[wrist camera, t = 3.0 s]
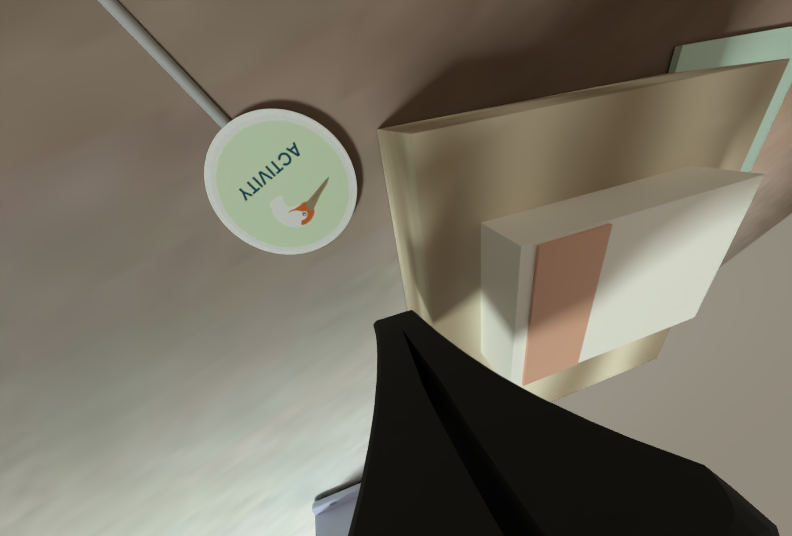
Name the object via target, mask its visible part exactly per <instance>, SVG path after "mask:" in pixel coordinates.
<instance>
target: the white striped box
mask: <svg viewBox="0 0 792 536" xmlns="http://www.w3.org/2000/svg"><path fill="white" fill-rule="evenodd" d="M764 175H765V174H758V173H750V172H741V171H733V170H725V169H716V168H708V167H700V166H689V167H685V168H681V169H678V170H674V171H670V172H666V173H663V174H659V175H655V176H652V177H648V178H644V179H641V180H637V181H633V182H630V183H626V184H622V185H618V186H615V187H611V188H607V189H604V190H600V191H596V192H593V193H589V194H585V195H582V196H578V197H574V198H571V199H567V200H563V201H559V202H556V203H552V204H548V205H545V206H541V207H537V208H534V209H530V210H526V211H523V212H519V213H515V214H511V215H508V216H504V217H500V218H497V219H493V220H489V221H486V222H482V223H481V353H482V354H483V356H484V357H485V358H486V360H487V361H488V362H489V363H490V365H491V366H492V367H493V369H494V370H495V371H496V373H497V374H499V375H501V376H502V377H504V378H506V379H508V380H509V381H511V382H513V383H515V384H516V385H518V386H522V385H523V386H525V385H527V384H530V383H532V382H535V381H537V380H540V379H542V378H545V377H547V376H550V375H552V374H555V373H557V372H560V371H563V370H565V369H568V368H570V367H573V366H575V365H578V363H580V362H582V361H585V360H588V359H590V358H593V357H595V356H598V355H600V354H603V353H605V352H608V351H610V350H613V349H615V348H618V347H621V346H623V345H626V344H628V343H631V342H633V341H636V340H638V339H641V338H643V337H646V336H648V335H651V334H654V333H656V332H659V331H661V330H664V329H666V328H669V327H671V326H674V325H676V324H679V323H681V322H684V321H686V320H689V319H692V318H694V317H695V315H696V313H697V311H698V309H699V307H700V305H701V303H702V301H703V299H704V297H705V295H706V293H707V291H708V289H709V287H710V285H711V283H712V281H713V278H714V277H715V275H716V273H717V271H718V269H719V267H720V265H721V263H722V261H723V259H724V256H725V254H726V252H727V250H728V248H729V246H730V244H731V242H732V240H733V238H734V236H735V234H736V232H737V230H738V228H739V226H740V224H741V222H742V220H743V218H744V216H745V214H746V212H747V210H748V208H749V206H750V204H751V202H752V200H753V197H754V195H755V193H756V191H757V189H758V187H759V185H760V183H761V181H762V179H763V177H764Z"/></svg>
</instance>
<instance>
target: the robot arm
mask: <svg viewBox="0 0 792 536" xmlns="http://www.w3.org/2000/svg"><path fill="white" fill-rule="evenodd" d="M374 329H375V333H376V339H377V383H376V394H375V405H374V413H373V421H372V427H371V433H370V440H369V445H368V451H367V456H366V461H365V466H364V471H363V476H362V480H361V483H359V484H357V485H354V486H352V487H349V488H347V489H345V490H342V491H340V492H337V493H335V494H333V495H330V496H328V497H325V498H323V499H320V500H318V501H316V502H315V503H314V504H313V505H312V511H313V513H314V515H315V525H316V536H779V533H778V529H777V527H776V525H775V524H773V523H772V522H771V521H770V520H769V519H768V518H767V517H765V516H764V515H763V514H762V513H761V512H760V511H759V510H757V509H756V508H755V507H754V506H753V505H752V504H750V503H749V502H748V501H747V500H746V499H745V498H744V497H742V496H741V495H740V494H739V493H738V492H737V491H736V490H734V489H733V488H732V487H731V486H730V485H728V484H727V483H726V482H725V481H723V480H722V479H721V478H719V477H718V476H717V475H716V474H715V473H713V472H712V471H711V470H710V469H708V468H707V467H706V466H705V465H702V464H699V463H697V462H694V461H692V460H689V459H686V458H683V457H681V456H678V455H675V454H672V453H670V452H667V451H664V450H662V449H659V448H656V447H654V446H651V445H648V444H645V443H643V442H640V441H637V440H635V439H632V438H629V437H627V436H624V435H622V434H619V433H617V432H615V431H613V430H610V429H608V428H605V427H603V426H601V425H598V424H596V423H594V422H591V421H589V420H587V419H584V418H583V417H581V416H578V415H576V414H574V413H572V412H570V411H568V410H566V409H563V408H561V407H559V406H557V405H555V404H553V403H551V402H549V401H546V400H544V399H542V398H540V397H539V396H537V395H535V394H533V393H531V392H529V391H527V390H525V389H524V388H522V387H520V386H518V385H516V384H515V383H513V382H511V381H509V380H508V379H506V378H504V377H502V376H501V375H499V374H497V373H496V372H494V371H492V370H491V369H489V368H488V367H486V366H485V365H483V364H482V363H480V362H479V361H477V360H476V359H474V358H473V357H471V356H470V355H468V354H467V353H465V352H464V351H462V350H461V349H460V348H458V347H457V346H456V345H454V344H453V343H452V342H450V341H449V340H448V339H446V338H445V337H444V336H443V335H441V334H440V333H439V332H438V331H436V330H435V329H434V328H433V327H431V326H430V325H429V324H428V323H427V322H426V321H425V320H423V319H422V318H421V317H420V316H419V315H418V314H417V313H416V312H415V311H413V310H409V311H406V312H403V313H400V314H397V315H393V316H390V317H387V318H384V319H381V320H378V321H376V322H375V323H374Z"/></svg>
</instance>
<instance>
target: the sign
mask: <svg viewBox="0 0 792 536" xmlns="http://www.w3.org/2000/svg"><path fill="white" fill-rule="evenodd" d="M98 1H99V2H100V3H101V4H102V5H103V6H104V7H105V8H106V9H107V10H108V11H109V12H110V13H111V14H112V15H113V16H114V17H115V19H116V20H117V21H118V22H119V23H120V24H121V25H122V26H123V27H124V28H125V29H126V30H127V31H128V32H129V33H130V34H131V35H132V36H133V37H134V38H135V39H136V40H137V41H138V42H139V43H140V44H141V45H142V46H143V47H144V48H145V49H146V50H147V52H148V53H149V54H150V55H151V56H152V57H153V58H154V59H155V60H156V61H157V62H158V63H159V64H160V65H161V66H162V67H163V68H164V69H165V70H166V71H167V72H168V73H169V74H170V75H171V76H172V77H173V78H174V79H175V80H176V81H177V82H178V83H179V85H180V86H181V87H182V88H183V89H184V90H185V91H186V92H187V93H188V94H189V95H190V96H191V97H192V98H193V99H194V100H195V101H196V102H197V103H198V104H199V105H200V106H201V107H202V108H203V109H204V110H205V111H206V112H207V113H208V114H209V115H210V116H211V117H212V119H213V120H214V121H215V122H216V123H217V124H218V125H219V126H220V127H221V128H222V129H221V130H220V131H219V132H218V134H217V135H216V136H215V138H214V139H213V141H212V143H211V145H210V147H209V150H208V152H207V156H206V160H205V167H204V179H205V186H206V191H207V194H208V197H209V200H210V202H211V205H212V207H213V208H214V210H215V212H216V214H217V215H218V217H219V218H220V219H221V221H222V222H223V223H224V224H225V225H226V227H227V228H228V229H229V230H230V231H232V232H233V233H234V234H235V235H236V236H238V237H239V238H240V239H242V240H243V241H245V242H247V243H248V244H250V245H252V246H254V247H257V248H259V249H262V250H265V251H268V252H272V253H278V254H301V253H306V252H310V251H313V250H316V249H319V248H321V247H323V246H325V245H326V244H328V243H330V242H331V241H332V240H334V239H335V238H336V237H337V236H338V235H339V234H340V233H341V232H342V231H343V230H344V228H345V227H346V225H347V224H348V222H349V220H350V219H351V216H352V214H353V211H354V208H355V204H356V198H357V181H356V175H355V171H354V168H353V165H352V162H351V160H350V158H349V156H348V154H347V152H346V150H345V149H344V147H343V146H342V144H341V143H340V142H339V141H338V139H337V138H336V137H335V136H334V135H333V134H332V133H331V132H330V131H329V130H328V129H326V128H325V127H324V126H323V125H321V124H320V123H318V122H317V121H315V120H313V119H311V118H309V117H307V116H305V115H303V114H300V113H297V112H294V111H290V110H285V109H272V108H270V109H259V110H254V111H251V112H248V113H245V114H242V115H240V116H238V117H236V118H235V119H233V120H232V121H230V120H229V119H228V118H227V117H226V116H225V115H224V114H223V112H222V111H221V110H220V109H219V108H218V107H217V106H216V105H215V104H214V103H213V102H212V101H211V100H210V99H209V98H208V96H207V95H206V94H205V93H204V92H203V91H202V90H201V89H200V88H199V87H198V86H197V85H196V84H195V83H194V82H193V81H192V79H191V78H190V77H189V76H188V75H187V74H186V73H185V72H184V71H183V70H182V69H181V68H180V67H179V66H178V65H177V64H176V63H175V61H174V60H173V59H172V58H171V57H170V56H169V55H168V54H167V53H166V52H165V51H164V50H163V49H162V48H161V47H160V46H159V45H158V43H157V42H156V41H155V40H154V39H153V38H152V37H151V36H150V35H149V34H148V33H147V32H146V31H145V30H144V29H143V28H142V27H141V25H140V24H139V23H138V22H137V21H136V20H135V19H134V18H133V17H132V16H131V15H130V14H129V13H128V12H127V11H126V10H125V9H124V8H123V6H122V5H121V4H120V3H119V2H118V1H117V0H98Z"/></svg>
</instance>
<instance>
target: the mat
mask: <svg viewBox="0 0 792 536" xmlns="http://www.w3.org/2000/svg"><path fill="white" fill-rule="evenodd" d="M788 58H790V60H789V62H788V65H787V67H786V69H785V71H784V74H783V76H782V78H781V80H780V82H779V85H778V87H777V89H776V91H775V94H774V96H773V98H772V100H771V103H770V105H769V107H768V109H767V112H766V114H765V116H764V118H763V121H762V123H761V125H760V127H759V130H758V132H757V134H756V136H755V139H754V141H753V143H752V145H751V148H750V150H749V152H748V154H747V157H746V159H745V161H744V163H743V165H742V168H741V170H740V171H741V172H750V171H751V169H752V166H753V164H754V162H755V160H756V158H757V156H758V154H759V151H760V149H761V147H762V145H763V143H764V141H765V138H766V136H767V134H768V132H769V130H770V128H771V126H772V123H773V121H774V119H775V117H776V115H777V113H778V110H779V108H780V106H781V104H782V102H783V100H784V97H785V95H786V93H787V91H788V89H789V87H790V85H791V82H792V26H791V27H785V28H779V29H773V30H768V31H762V32H756V33H750V34H744V35H739V36H733V37H727V38H721V39H715V40H710V41H704V42H698V43H692V44H686V45H681V46H676V47H675V50H674V53H673V57H672V60H671V64H670V68H669V71H668V73H675V72H683V71H691V70H699V69H707V68H715V67H724V66H732V65H740V64H748V63H756V62H764V61H772V60H780V59H788Z"/></svg>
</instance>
